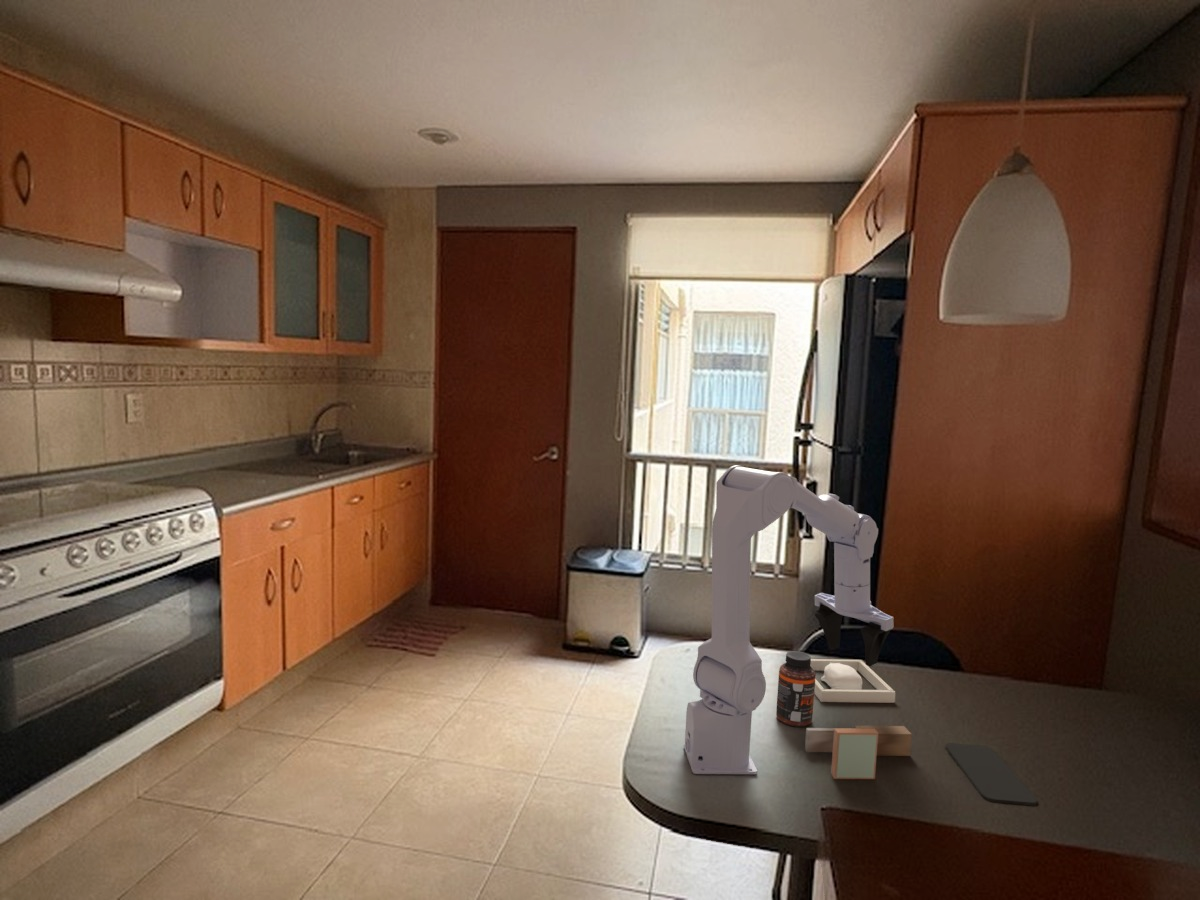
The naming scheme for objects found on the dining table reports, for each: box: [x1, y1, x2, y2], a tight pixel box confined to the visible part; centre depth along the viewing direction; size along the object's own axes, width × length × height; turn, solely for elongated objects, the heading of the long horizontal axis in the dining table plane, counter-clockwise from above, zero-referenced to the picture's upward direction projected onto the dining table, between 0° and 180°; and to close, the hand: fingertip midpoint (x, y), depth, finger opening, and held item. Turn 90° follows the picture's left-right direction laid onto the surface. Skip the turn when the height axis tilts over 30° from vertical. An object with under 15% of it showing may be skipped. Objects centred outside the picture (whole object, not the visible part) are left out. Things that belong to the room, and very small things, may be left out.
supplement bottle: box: [776, 650, 816, 728], centre depth 117 cm, size 6×6×11 cm
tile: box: [830, 727, 878, 780], centre depth 101 cm, size 6×1×7 cm, turn 93°
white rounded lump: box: [820, 663, 863, 690], centre depth 133 cm, size 8×7×4 cm
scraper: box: [804, 725, 913, 757], centre depth 108 cm, size 16×2×4 cm, turn 93°
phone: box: [945, 742, 1038, 806], centre depth 103 cm, size 7×1×15 cm
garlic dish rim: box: [810, 658, 896, 704], centre depth 132 cm, size 14×15×2 cm
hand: (852, 656), depth 120 cm, fingers open, 7 cm apart
